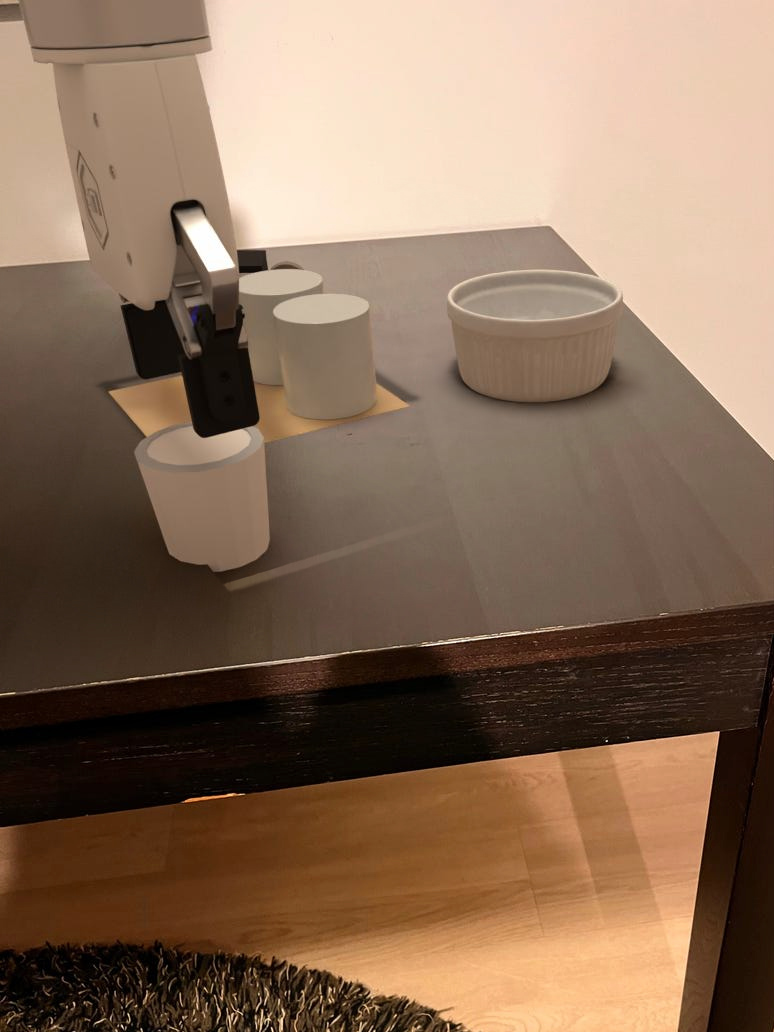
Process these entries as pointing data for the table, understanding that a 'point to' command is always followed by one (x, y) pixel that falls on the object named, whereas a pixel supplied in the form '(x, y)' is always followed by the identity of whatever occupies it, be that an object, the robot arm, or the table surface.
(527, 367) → the ramekin
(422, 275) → the table surface
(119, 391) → the board
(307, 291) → the white tall rear cylinder
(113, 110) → the robot arm
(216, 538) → the white tapered cup
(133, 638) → the table surface
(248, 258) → the figurine character
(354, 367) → the white front cylinder
